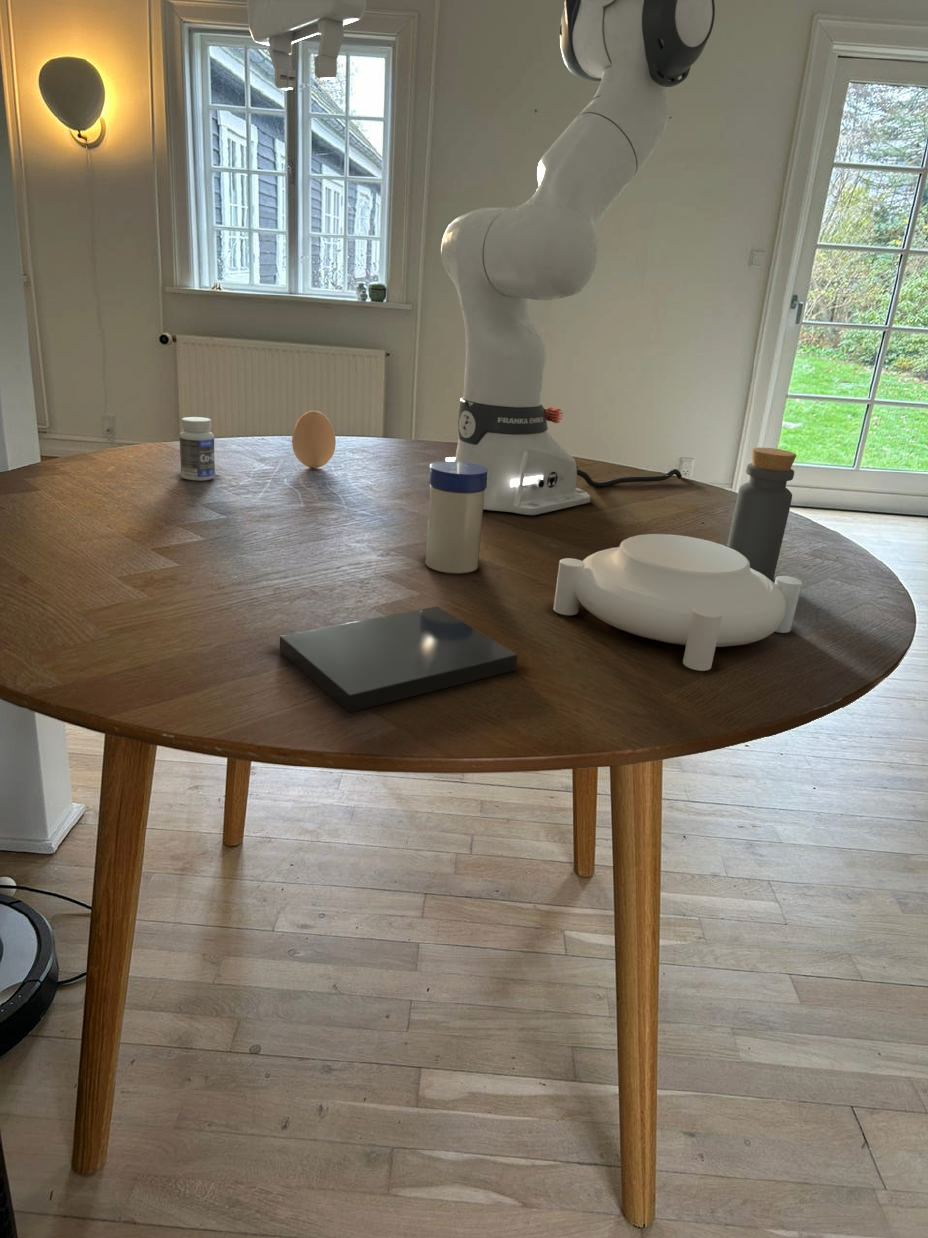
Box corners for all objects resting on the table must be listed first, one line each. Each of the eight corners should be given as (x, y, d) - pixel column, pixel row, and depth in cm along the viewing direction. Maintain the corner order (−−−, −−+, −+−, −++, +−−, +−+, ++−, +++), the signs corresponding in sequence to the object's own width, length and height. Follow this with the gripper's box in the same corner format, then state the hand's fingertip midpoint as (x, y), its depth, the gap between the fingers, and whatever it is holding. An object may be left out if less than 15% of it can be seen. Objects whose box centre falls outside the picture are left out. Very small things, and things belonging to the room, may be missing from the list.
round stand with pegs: (835, 681, 75) (856, 606, 72) (564, 660, 75) (574, 583, 72) (754, 588, 97) (767, 528, 94) (545, 571, 97) (552, 510, 94)
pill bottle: (205, 482, 121) (203, 423, 118) (175, 478, 122) (172, 419, 119) (220, 475, 126) (219, 418, 122) (191, 472, 126) (189, 414, 123)
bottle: (746, 589, 97) (775, 457, 91) (710, 572, 101) (736, 446, 96) (783, 584, 99) (813, 456, 94) (746, 568, 104) (773, 445, 98)
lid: (464, 476, 97) (466, 459, 96) (499, 489, 92) (500, 472, 92) (417, 480, 93) (418, 462, 93) (450, 494, 89) (452, 476, 88)
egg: (311, 474, 131) (312, 415, 128) (282, 465, 135) (282, 408, 131) (343, 469, 136) (345, 412, 133) (315, 461, 140) (315, 405, 136)
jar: (457, 553, 100) (464, 464, 96) (488, 569, 96) (497, 476, 92) (414, 559, 97) (420, 467, 93) (445, 576, 92) (452, 480, 88)
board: (436, 620, 81) (437, 605, 80) (516, 670, 72) (518, 654, 71) (279, 651, 71) (279, 635, 71) (349, 713, 63) (349, 695, 62)
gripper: (385, -98, 79) (381, 76, 84) (289, -47, 94) (290, 98, 99) (324, -119, 75) (323, 64, 80) (234, -63, 90) (238, 88, 95)
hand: (304, 83), depth 90 cm, fingers open, 8 cm apart
